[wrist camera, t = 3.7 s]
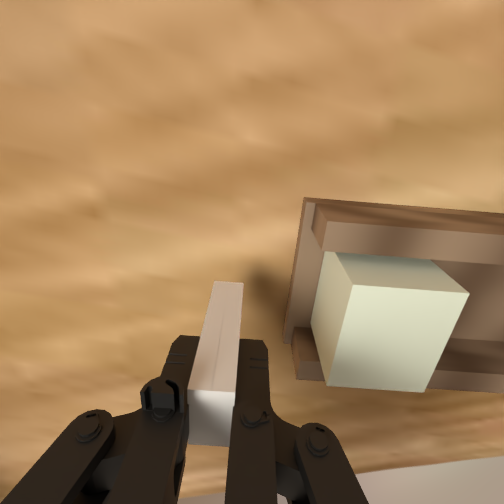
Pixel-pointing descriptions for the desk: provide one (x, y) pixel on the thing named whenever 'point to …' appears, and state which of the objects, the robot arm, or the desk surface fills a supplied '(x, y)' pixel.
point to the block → (383, 320)
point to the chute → (410, 246)
